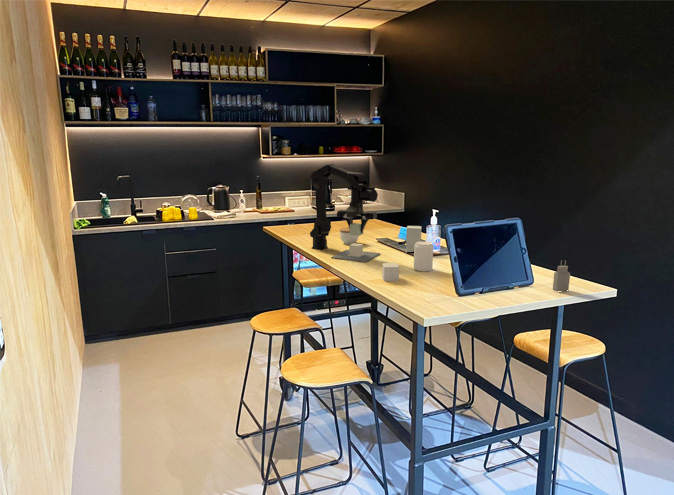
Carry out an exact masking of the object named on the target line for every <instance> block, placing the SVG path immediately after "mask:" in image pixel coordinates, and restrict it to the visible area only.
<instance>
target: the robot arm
mask: <svg viewBox="0 0 674 495" xmlns="http://www.w3.org/2000/svg"><path fill="white" fill-rule="evenodd" d="M332 175H333V176H335V177H338V178H341V179H343V180H345V182H346V183H348V184H349V187H347V190H348V191H349V190H350V191H351V192H350V202H349V206H348V207H347V208H346V209H340V210H338V211H337V212H336V217H338V218H342V219H343V220H345V221H346V223H347V225H348V227H349V228H350V224H352V223H354V219H355V218H357V217H360V222H361V233H362V232H363V233H364V230H365V227H366V226H367V223H368V221H369V220H375V219H378V214H377V212H376V211H367V212H364V203H365V202H372V203H374V202H376V201H377V199H378V197H379V196H378V195H379V194H378V191H377V190H376V187H375V186H370V184H369V182H368V180H367V179H366V176H365V174H364V172H357V171H351V170H348V169H345V168H344V167H343V168H342V167H339V166H337V165H335V164H333V163H328V164H325V165H323V166H322V167H320V168H318V169H317V170H314V171H313V172H312V173H311V174H310V179H311V185H312V186H313V188H314V193H315V212H316V218H315V220H314V222H313V228H312V229H311V231H310V232H309V235H310V238H312V247H311V249H312V250H313V249H315V250H325V249H328V240H327V237H328V236H329V234H330V232H331V229H332V224H331V223H332V221H331V219H329V218H328V217H327V202H326V187H327V185H328V182H329V181H328V180H329V178H330V177H331V176H332Z"/></svg>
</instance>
